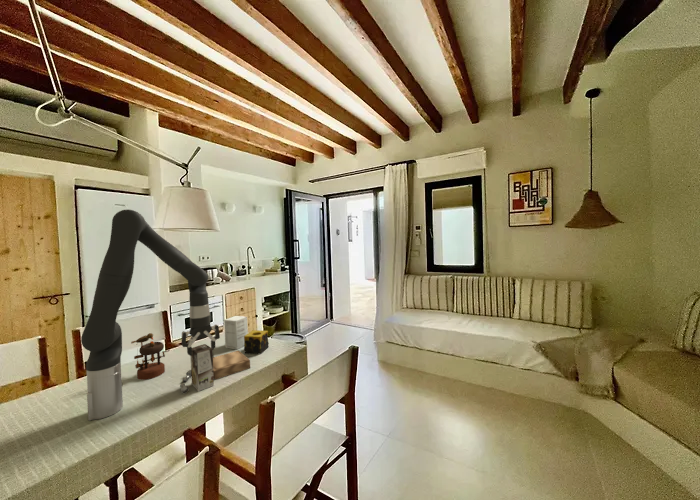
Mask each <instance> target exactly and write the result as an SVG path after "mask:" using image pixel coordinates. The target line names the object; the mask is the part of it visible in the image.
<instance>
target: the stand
mask: <svg viewBox="0 0 700 500" xmlns="http://www.w3.org/2000/svg"><path fill="white" fill-rule="evenodd" d="M249 369H251V359H250V358H248V357H247V356H246V355H245V354H243V353H242V352H241V351H240V350H239V349H237V350H234V351H231V352H228V353H225V354H221V355H220V354H219V355H218V356H213V375H214V380H218V379H221V378H224V377H227V376H230V375H233V374H236V373H239V372H240V373H241V372H243V371H246V370H249Z"/></svg>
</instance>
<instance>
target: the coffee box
mask: <svg viewBox="0 0 700 500" xmlns="http://www.w3.org/2000/svg"><path fill="white" fill-rule="evenodd" d="M213 351H214V350H213V349H212V348H211V346H210V345H208V344H207V343H206V344H205V343H204V344H200V345H196V346H194V347H192V356H190V355H189V357H190V370H191V377H190V378H191V385H192V386H193V387H194V388H195V389H196V390H197V391H198V392H201V391H203V390H206V389H208V388H211V387H214V386H215V382H214V381H215V379H214V375H213V357H214V352H213Z"/></svg>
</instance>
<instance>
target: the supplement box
mask: <svg viewBox="0 0 700 500" xmlns="http://www.w3.org/2000/svg"><path fill="white" fill-rule="evenodd" d="M223 322H224V323H223V325H224V345H225V347H224V348H225V349H233V350H239V349H241V348H244V336H245V335H247V334H248V333H249V329H248V327H249V326H248V316H243V315H234V316H230V317H228V318H226V319H224V320H223Z"/></svg>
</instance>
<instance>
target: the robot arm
mask: <svg viewBox="0 0 700 500" xmlns="http://www.w3.org/2000/svg"><path fill="white" fill-rule="evenodd" d="M109 239H110V240H109V245H108V247H107V248H108V249H107V250H106V252H105V256H104V259H103V262H102V264H101V268H100V270H99V273H98V277H97V281H96V288H95V291H94V296H93V301H92V307H91V310H90V314H89V317H88V319H87V322H86V324H85V326H84V329H83V332H82V334H81V338H80V339H81V341H80V343H81V345H82V347H83V348H84V349H85V350H87V351H89V355H88V358H87V361H86V363H85V364H86V365H85V367H86V382H87V383H86V386H87V393H86V399H87V400H86V403H87V420H88V421H92V420H101V419H105V418H107V417H109V416H110V417H111V416H112V415H114V414H116V413H118V412H119V411H121V409H122V408H123V407H124V403H123V402H124V401H123V400H124V399H123V385H122V384H123V383H122V381H123V380H122V366H121V364H122V363H121V362H122V361H121V360H122V359H121V356H122V352H123V331H122V327H121V325H120V324H119V323H118V322H117V317H118V313H119V310H120V308H121V306H122V304H123V303H124V300H125V298H126V296H127V294H128V292H129V289H130V287H131V282H132V278H133V275H134V268H135V267H134V266H135V252H136V251H135V250H136V247H137V244H138V242H140V243H141V244H142V245H144V246H146V247H147V248H148V249H149V251H151V252H152V253H153V254H154V255H155V256H157V258H159V260H161V261H162V263H164V264H166V265H167V266H168V267H169V268H171V269H172V270H173V271H175V272H176V273H178V274H180V275H181V276H182V277H183V278H184V279H185V280H186V281H187V285H188V287H187V288H188V290H189V291H188V292H189V314H188V316H189V327H190V329H189V331H183V330H182V332H181V346H182V347H183V348H186V352H187V355H188V356H189V357H190V356H192V348H193V347H192V346H193V344H194V343H195V342H196V340H197V341H199V340H202V339H206V338H207V337H208V338H209V339H210V347H211V348H212V349H213V351H215V349H216V340H219V339H221V337H220V335H221V334H220V327H219V325H218V324H214V325H212V326H211V315H210V314H211V313H210V309H211V308H210V306H209V305H210V304H209V294H208V291H207V282H208V281H209V275H208V272H207V271H206V270H204V269H203V268H201V267H200V266H199V265H198V264H196V263H195V262H193V261H192V260H191V259H190V258H189V257H188V256H187V255H185V253H183V252H182V251H181V250H179V249H178V248H177V247H175V246H174V245H173V244H171V243H170V242H169V241H168V240H166V239H164V238H163V237H162V236H161V235H160V234H159V233H157V231H155V230H154V229H153V227H151V225H150V224H149V223H148V222H147V221H146V219H145V217H144V216H143V215H142V214H141V213H140V212H138V211H136V210H133V209H121V210H119V211H117V212H116V213H115V214H114V215H113V217H112V221H111V231H110V238H109ZM212 330H213V331H214V336H213V335H212V334H210V333H211V331H212ZM189 335H190V336H191V337H190V338H189V340H188V341H187V338H188V336H189Z"/></svg>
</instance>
